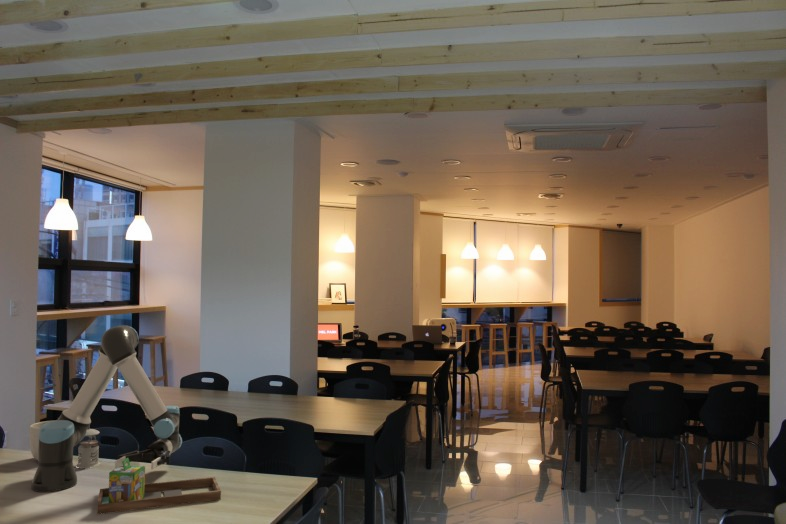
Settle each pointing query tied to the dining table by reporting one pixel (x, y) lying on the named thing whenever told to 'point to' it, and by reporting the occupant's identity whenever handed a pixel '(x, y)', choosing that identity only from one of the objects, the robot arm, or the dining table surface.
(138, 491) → the chalk box
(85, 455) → the french press
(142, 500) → the brown wooden tray
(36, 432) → the planter
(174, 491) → the mats
